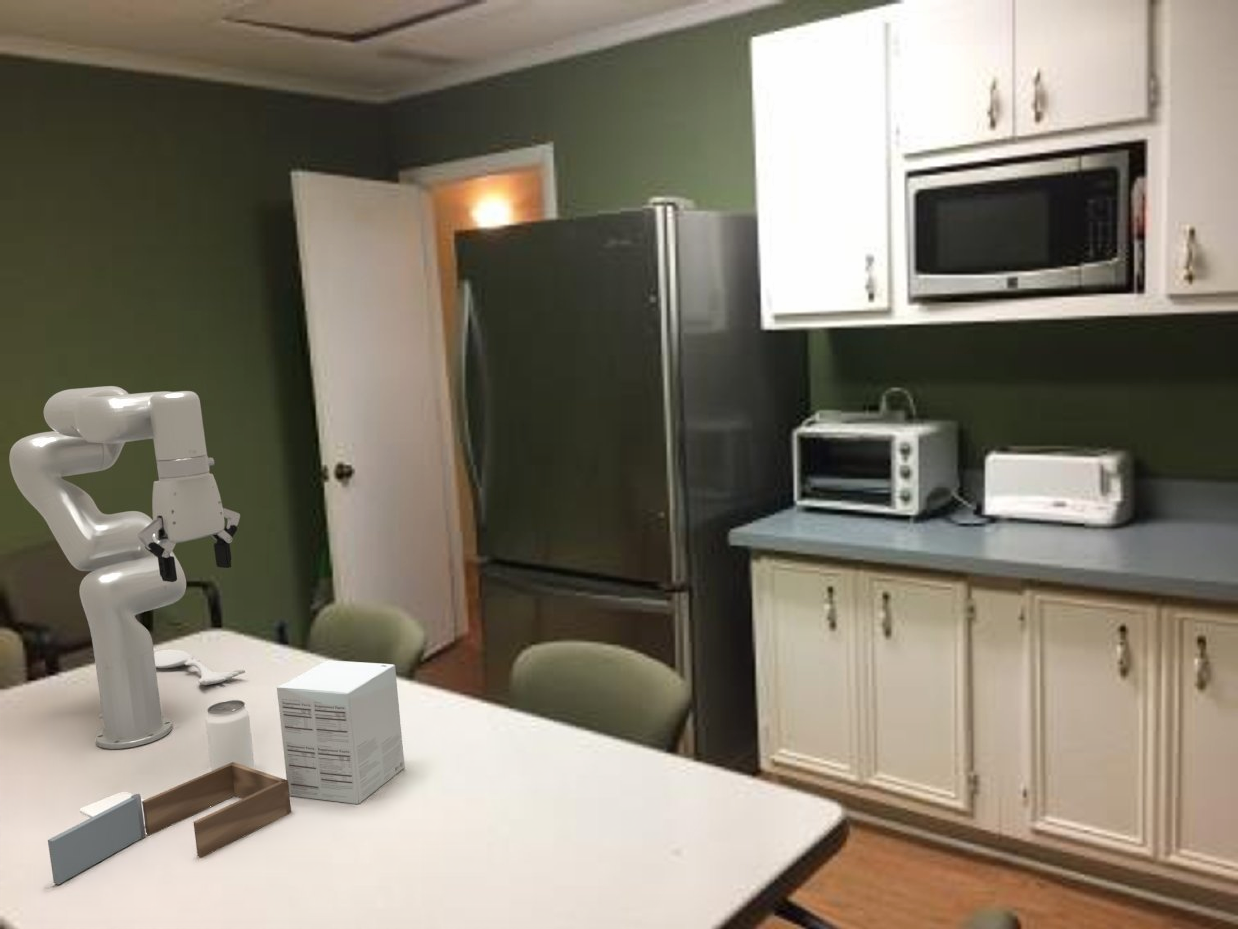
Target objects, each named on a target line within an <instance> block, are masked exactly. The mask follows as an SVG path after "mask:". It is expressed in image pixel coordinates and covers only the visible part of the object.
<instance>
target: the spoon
mask: <svg viewBox="0 0 1238 929" xmlns="http://www.w3.org/2000/svg"><path fill="white" fill-rule="evenodd" d="M154 658H155V666H156V668H159V669H172V668H177V667H180V666H183V665H185V666H188V667H191V666H192V667H195V668H197V669H198V670H199V672H200V678H199V679H198V680H197V682H198V683H199V684H201V685H203V686H207V685H208V686H209V685H214V684H219V683H223V682H224V681H225V682H226V681H227V680H231V679H233V678H236V677H237V676H239V675H242V674H245V673H246V669H245V668H239V669H235V670H233V671H224V672H223V671H222V672H215V671H213V670H210V669H209V668H208V667H206V665H204V663H201V661H200V659H198V658H195V657H194V655H193V654H192V653H190V652H188V651H186V650H182V649H173V648H172V649H171V648H170V649H169V648H168V649H161V650H158V651H154Z"/></svg>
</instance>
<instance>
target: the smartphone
mask: <svg viewBox="0 0 1238 929" xmlns="http://www.w3.org/2000/svg"><path fill="white" fill-rule="evenodd" d="M132 795H133V793H130V792H127V791H121V792H118V793H115V794H113V795H110V796H108V797H104V798H103V799H99V800H98V801H95V802H93V803H91V804H88V805H85V806H82V807H81V808H80V809H79V813H81V814H82V813H83V814H82V815H84V814H85V816H86V815H87V817H89V818H92V817H94V816H95V815H97V814H99V813H101V812H103V811H105V810H107V809H109V808H111V807H113V806H115V805H117V804H119V803H121V802H123V801H125V800H127V799H129V798H131V796H132ZM143 800H145V798H142V797H141V803H142V801H143ZM142 811H143V805H142ZM143 818H144V813H143ZM144 826H145V821H144Z"/></svg>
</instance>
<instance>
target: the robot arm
mask: <svg viewBox="0 0 1238 929" xmlns="http://www.w3.org/2000/svg"><path fill="white" fill-rule="evenodd" d="M43 417H44V420H45V422H46V424H47V425H48V427H49V428H50V429H51V430H53V431H43V432H38V433H34V434H30V435H28V436H25V437H22V438H20V439H19V440H18V441H16V442H15V443H14V444H13V445H12V447H11V449H10V452H9V458H8V459H9V467H10V472H11V475H12V477H13V480H14V482H15V484H16V486H17V489H18V490H19V492H20V493H21V494H22V495H23V497H24V498H25V499H26V501H27V502H29V504H30V505H31V506H33V508H34V509H35V510H36V511H37V512H38V513H39V514H40V515H41V516H42V518H43V519H44V520H45V523H46V524H47V525H48V527H49V529H50V531H51V533H52V535H53V536H54V538H55V540H56V542H57V543H58V545H59V546H60V548H61V550H62V552H63V554H64V555H65V558H66V559H67V560H68V561H69V563H70V565H71V566H73V568H75V569H76V570H78V571H80V572H89V573H87V574H86V576H84V577H83V578H82V580H81V582H80V585H79V592H78V593H79V598H80V601H81V605H82V607H83V612H84V613H85V617H86V619H87V623H88V627H89V631H90V636H91V643H92V647H93V648H92V649H93V656H94V662H95V663H94V664H95V670H96V676H97V684H98V685H97V687H98V693H99V700H100V708H101V712H100V713H99V716H98V717H99V719H101V720H102V723H103V729H102V730H100V731H99V732H98V733H97V734H96V735H95V744H96V745H97V746H98V747H100V748H102V749H109V750H110V749H111V750H117V749H118V750H119V749H121V750H122V749H129V748H134V747H139V746H143V745H146V744H150V743H153V742H155V741H157V740H160V739H162V738H164V737H165V736H167V735H168V734H169V733H170V732H172V729H173V721H172V720H171V719H170V718H168V717H165V716H163V714H162V706H161V701H160V700H161V699H160V692H159V691H160V690H159V685H158V684H159V683H158V676H157V675H158V674H157V667H156V666H155V658H154V653H155V650H154V644H153V638H152V635H151V633H150V631H149V630H148V629H147V628H146V627H145V626H144V625H143V624H142V623H141V622H140V621H139V620H137V618H136V616H137V615H140V614H142V613H144V612H148V611H153V610H155V609H160V608H162V607H166V606H170V605H173V604H175V603H176V602H178V601H180V600H181V599H182V598H183V597H184V595H185V592H186V588H187V580H186V575H185V573H184V570H183V568H182V566H181V565H182V564H180V561H179V560H178V558H177V557H176V555H175V553H174V552H173V550H174V549H175V546H177V544H178V543H184V542H188V541H193V540H199V539H202V538H207V537H212V538H213V539H214V540H215V541H216V542H215V543H214V544H213V550H214V555H215V565H216V567H218V568H223V569H224V568H225V569H228V568H231V567H232V553H231V546H230V543H232V542H233V537H234V536H235V534H236V533H237V530H238V525H239V522H240V518H241V513H238V512H237V511H233V510H230V509H227V508H225V507H223V503H222V498H221V493H220V491H219V488H218V484H217V481H216V479H215V477H214V474H213V473H210V467H211V466H214V465H215V460H214V458H213V457H209V456H208V455H209V454H208V451H207V446H206V436H205V430H204V423H203V422H204V421H203V414H202V407H201V401H200V397H199V395H198V394H197V393H196V392H195V391H191V390H181V391H168V390H167V391H164V390H163V391H151V392H139V393H137V392H136V393H129V392H128V391H127V390H125V389H123V388H122V387H119V386H115V385H109V386H107V385H106V386H104V385H103V386H93V387H83V388H82V387H81V388H70V389H69V388H68V389H65V390H61V391H58V392H57V393H55V394H53V395H52V396H51V397H49V399H48V400H47V402H46V403H45V405H44V408H43ZM143 440H153V446H154V454H155V461H156V467H157V475H158V480H155V481H153V485H152V486H153V487H152V496H151V497H152V500H151V502H152V506H151V507H152V510H151V511H152V518H151V517H150V516H149V515H147V514H146V513H144V512H141V511H137V510H130V511H122V512H116V513H112V514H111V513H110V514H107V513H103V512H102V511H100V509H99V508H98V506H97V505H96V503H95V501H94V499H93V498H92V497H91V495H90V494H89V493H87V492H86V491H85V490H83V489H82V488H81V487H79V486H77V485H76V484H74V483H72V482H69V481H68V480H65V479H63V478H62V477H69V476H74V475H75V476H76V475H82V474H88V473H97V472H101V471H105V470H107V469H108V470H109V468H111V467H112V466H114V464H115V463H116V461H117V460H118V459H119V457H120V454H121V452H122V449H123V448H124V445H125V444H126V443H127V442H135V441H136V442H137V441H143ZM225 518H226V519H227V525H225Z"/></svg>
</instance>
